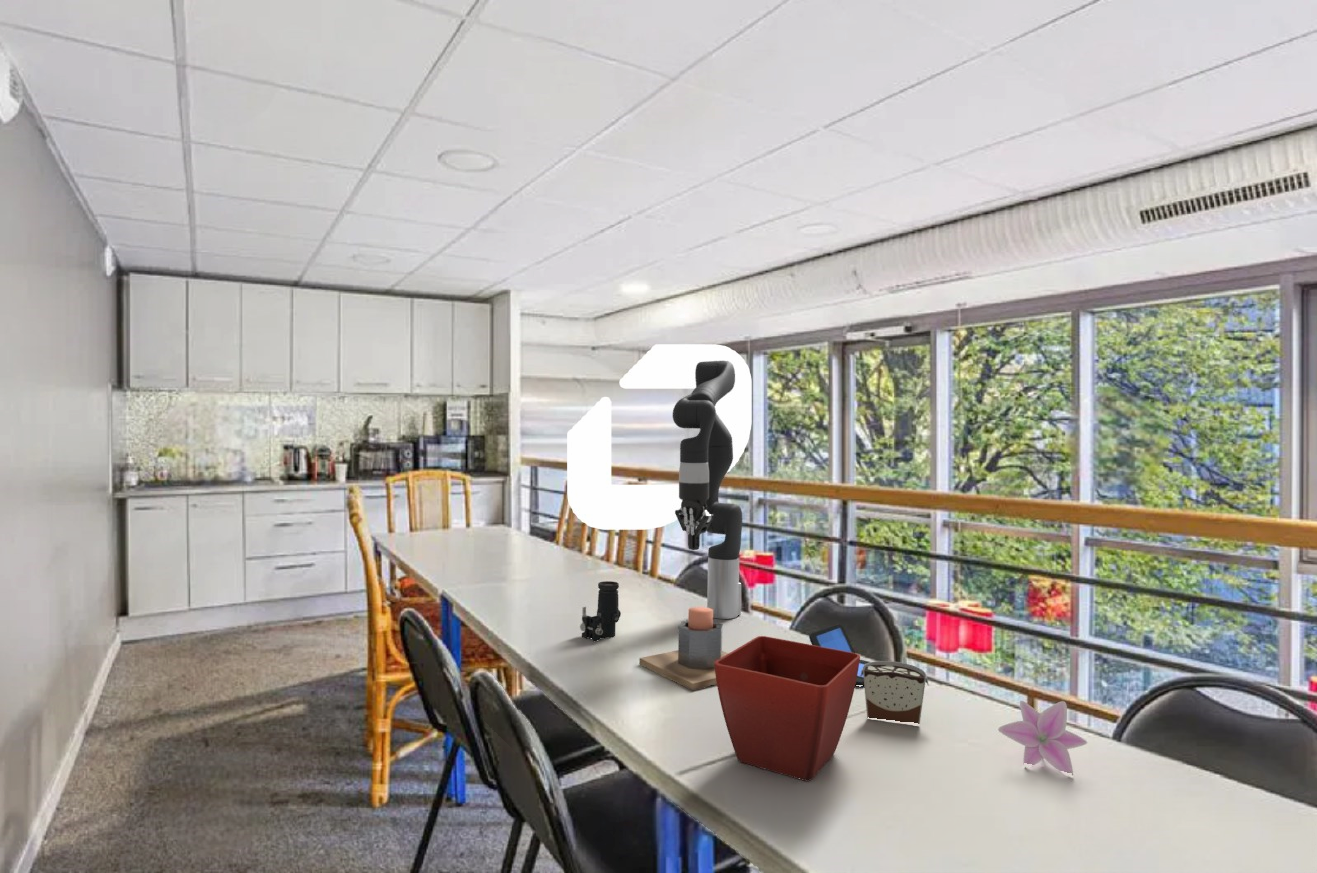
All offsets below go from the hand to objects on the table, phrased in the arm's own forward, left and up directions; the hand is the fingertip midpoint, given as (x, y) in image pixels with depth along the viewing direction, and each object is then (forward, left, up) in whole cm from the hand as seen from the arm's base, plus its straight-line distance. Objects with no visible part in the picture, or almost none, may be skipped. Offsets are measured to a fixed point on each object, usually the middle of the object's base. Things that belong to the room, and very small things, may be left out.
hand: (693, 549), depth 180 cm
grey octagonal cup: (+8, +13, -23) cm, 28 cm away
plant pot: (+24, +56, -25) cm, 66 cm away
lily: (-11, +81, -25) cm, 86 cm away
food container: (-6, +55, -25) cm, 61 cm away
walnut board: (+8, +13, -25) cm, 29 cm away
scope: (+13, -21, -25) cm, 35 cm away
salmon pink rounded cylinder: (+8, +13, -17) cm, 23 cm away
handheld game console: (-19, +34, -25) cm, 46 cm away
